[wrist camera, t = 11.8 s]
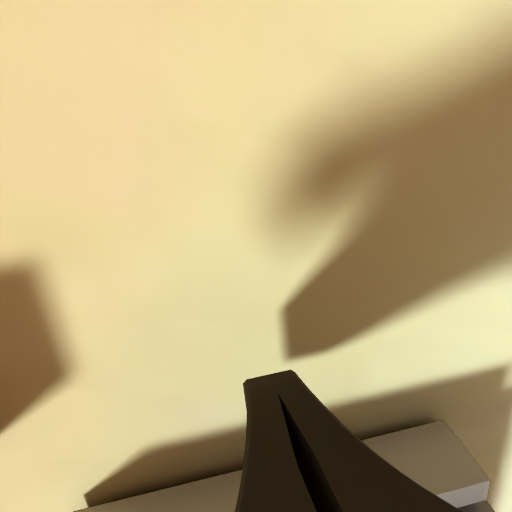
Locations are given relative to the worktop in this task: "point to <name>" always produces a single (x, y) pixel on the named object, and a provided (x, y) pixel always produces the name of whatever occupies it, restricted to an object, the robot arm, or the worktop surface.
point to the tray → (387, 446)
